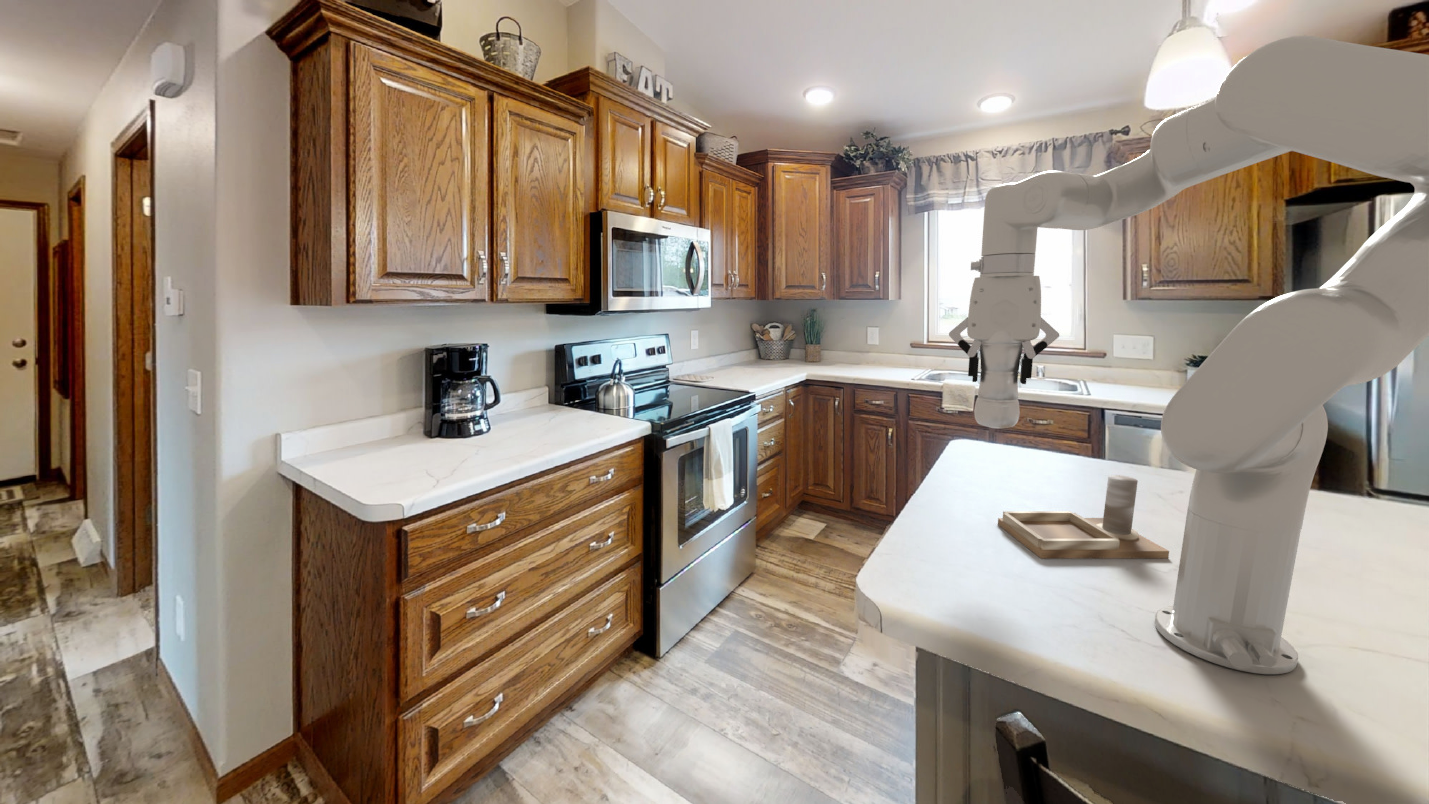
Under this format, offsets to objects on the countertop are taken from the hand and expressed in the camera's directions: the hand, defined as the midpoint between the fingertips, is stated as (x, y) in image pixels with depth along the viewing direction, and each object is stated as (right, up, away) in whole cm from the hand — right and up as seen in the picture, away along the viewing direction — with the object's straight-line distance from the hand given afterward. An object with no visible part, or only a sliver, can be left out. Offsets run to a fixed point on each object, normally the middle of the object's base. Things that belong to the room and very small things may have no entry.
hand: (998, 381), depth 92 cm
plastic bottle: (0, -8, +1) cm, 8 cm away
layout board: (+16, -27, +5) cm, 31 cm away
